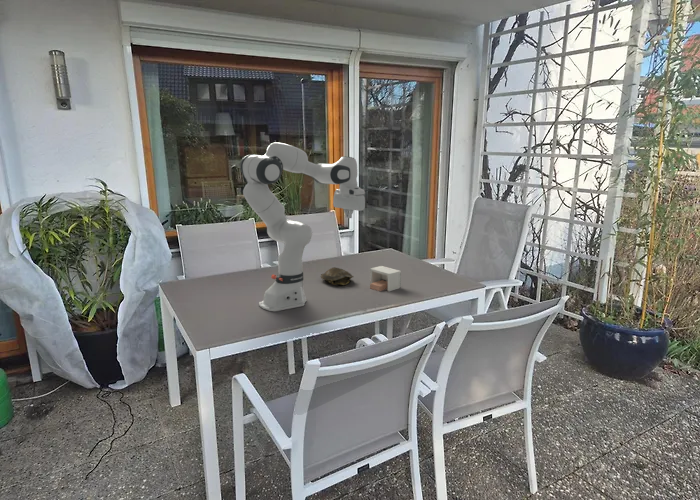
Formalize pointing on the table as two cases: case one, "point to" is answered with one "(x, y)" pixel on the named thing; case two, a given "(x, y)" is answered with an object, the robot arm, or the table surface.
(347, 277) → the turtle shell
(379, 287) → the tan rectangular block
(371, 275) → the white storage bin
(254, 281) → the table surface
